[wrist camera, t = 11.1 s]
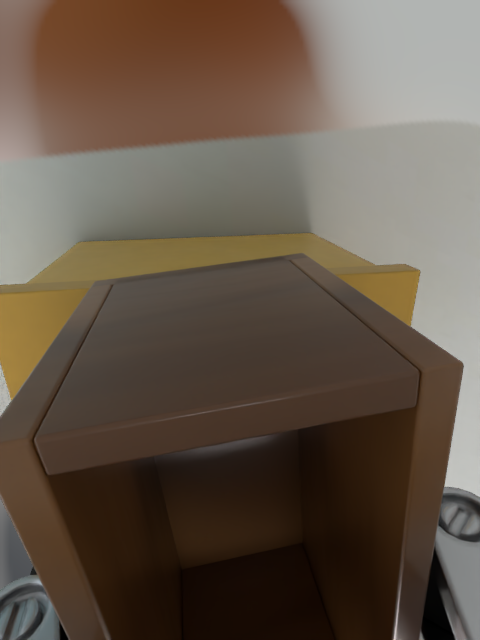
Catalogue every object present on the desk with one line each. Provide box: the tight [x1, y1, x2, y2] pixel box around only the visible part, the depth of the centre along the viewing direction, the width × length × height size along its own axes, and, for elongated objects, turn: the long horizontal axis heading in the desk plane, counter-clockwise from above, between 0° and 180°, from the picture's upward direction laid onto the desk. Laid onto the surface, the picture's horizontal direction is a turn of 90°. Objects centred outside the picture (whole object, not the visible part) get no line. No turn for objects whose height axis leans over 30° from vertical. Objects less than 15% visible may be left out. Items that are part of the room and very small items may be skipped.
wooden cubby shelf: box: [0, 253, 464, 640], centre depth 8 cm, size 10×5×6 cm, turn 6°
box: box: [0, 233, 420, 401], centre depth 15 cm, size 12×9×8 cm
